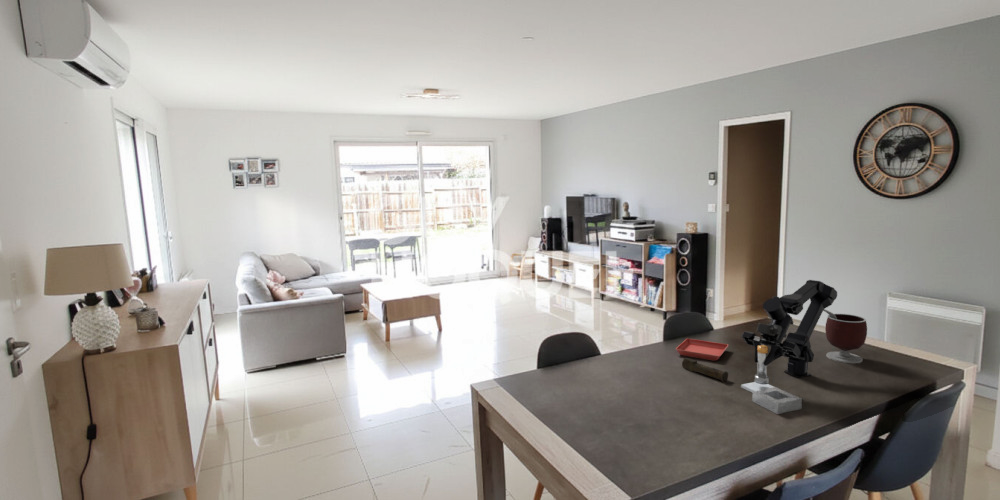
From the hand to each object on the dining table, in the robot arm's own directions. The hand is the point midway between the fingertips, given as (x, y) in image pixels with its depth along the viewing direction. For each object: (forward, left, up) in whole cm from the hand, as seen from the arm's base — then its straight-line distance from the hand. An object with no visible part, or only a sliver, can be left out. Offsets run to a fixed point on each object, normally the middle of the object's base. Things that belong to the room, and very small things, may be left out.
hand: (759, 363), depth 173 cm
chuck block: (+4, +11, -10) cm, 15 cm away
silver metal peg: (-1, 0, -7) cm, 7 cm away
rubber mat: (-1, 0, -10) cm, 10 cm away
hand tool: (+7, -20, -10) cm, 24 cm away
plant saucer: (-9, -39, -11) cm, 42 cm away
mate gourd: (-56, -12, -10) cm, 58 cm away
